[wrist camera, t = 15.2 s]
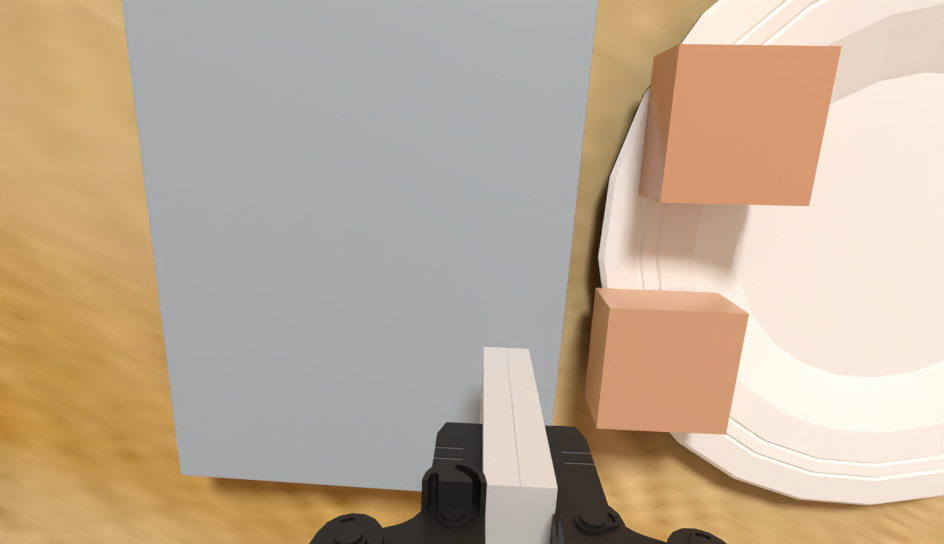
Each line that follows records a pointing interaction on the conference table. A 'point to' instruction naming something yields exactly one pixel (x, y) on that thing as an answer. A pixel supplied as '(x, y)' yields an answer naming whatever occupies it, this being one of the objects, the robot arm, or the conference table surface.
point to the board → (354, 219)
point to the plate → (820, 263)
